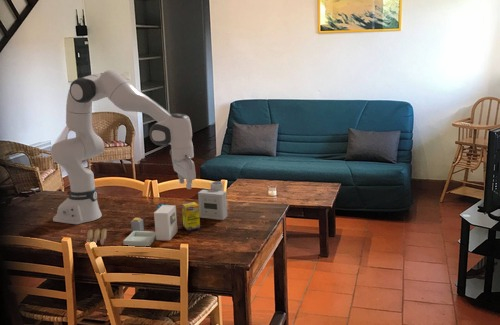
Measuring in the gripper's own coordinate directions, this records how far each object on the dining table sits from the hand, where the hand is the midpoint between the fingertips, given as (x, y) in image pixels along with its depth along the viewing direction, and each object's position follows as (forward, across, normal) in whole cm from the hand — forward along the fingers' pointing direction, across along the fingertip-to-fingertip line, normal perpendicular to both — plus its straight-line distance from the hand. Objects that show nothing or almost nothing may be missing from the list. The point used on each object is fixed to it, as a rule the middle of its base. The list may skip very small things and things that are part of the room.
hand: (185, 185), depth 217 cm
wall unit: (+22, +6, +8) cm, 24 cm away
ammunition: (+22, +14, +36) cm, 45 cm away
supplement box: (+23, +9, -4) cm, 25 cm away
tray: (+22, +6, +19) cm, 30 cm away
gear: (+22, +24, +3) cm, 33 cm away
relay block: (+22, +18, +18) cm, 34 cm away
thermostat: (+23, +21, -21) cm, 37 cm away
